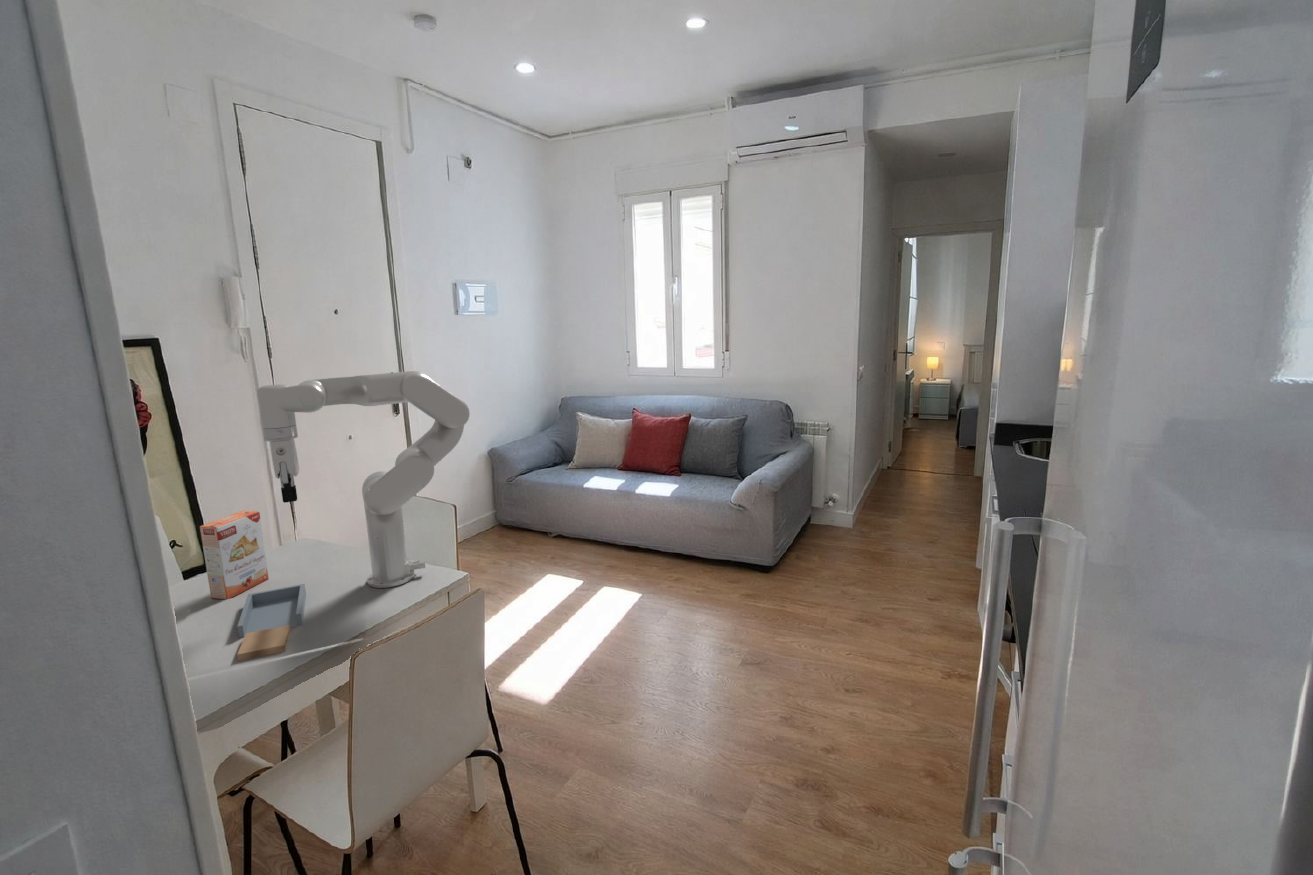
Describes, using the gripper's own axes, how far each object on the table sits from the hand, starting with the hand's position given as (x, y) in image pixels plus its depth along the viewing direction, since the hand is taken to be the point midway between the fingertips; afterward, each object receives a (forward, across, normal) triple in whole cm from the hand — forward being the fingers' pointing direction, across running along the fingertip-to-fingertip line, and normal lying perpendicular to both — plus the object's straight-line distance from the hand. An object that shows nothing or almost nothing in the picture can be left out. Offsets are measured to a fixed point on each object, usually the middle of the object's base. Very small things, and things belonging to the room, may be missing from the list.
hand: (290, 500), depth 161 cm
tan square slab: (+28, -26, +7) cm, 38 cm away
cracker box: (+27, +14, +16) cm, 35 cm away
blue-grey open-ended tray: (+27, -10, +6) cm, 29 cm away
